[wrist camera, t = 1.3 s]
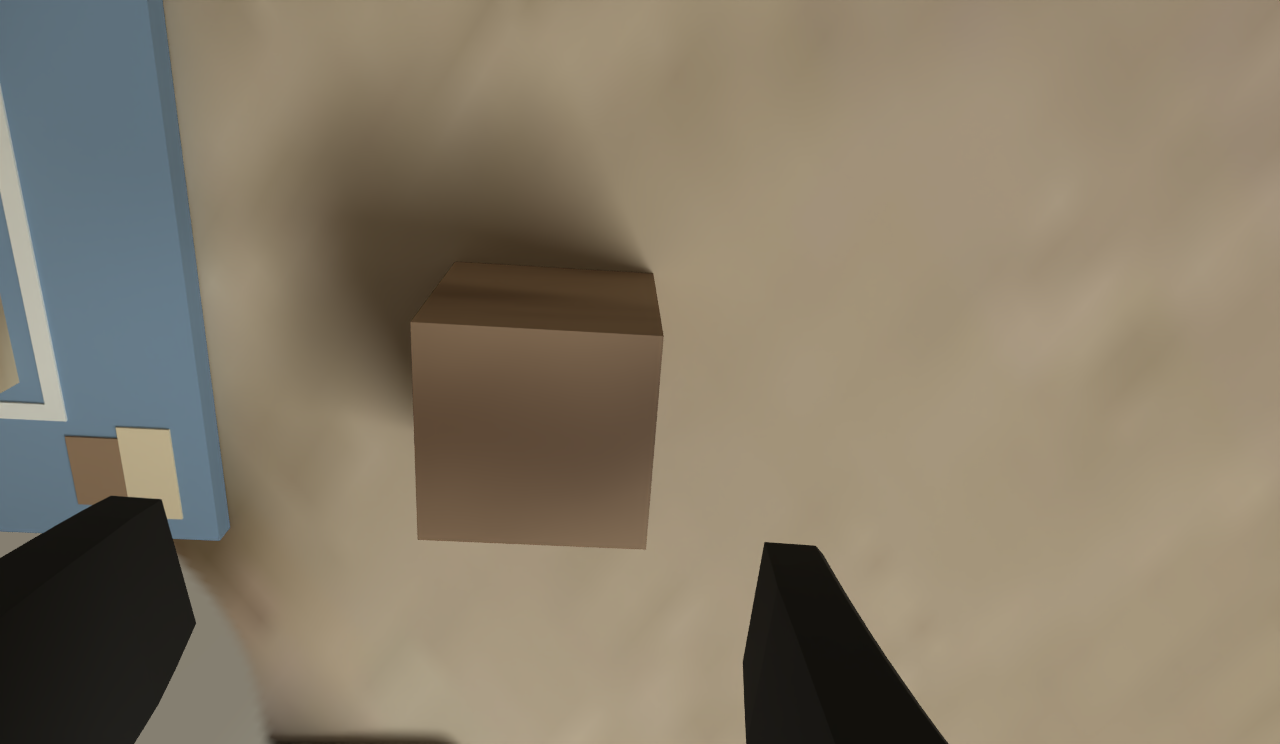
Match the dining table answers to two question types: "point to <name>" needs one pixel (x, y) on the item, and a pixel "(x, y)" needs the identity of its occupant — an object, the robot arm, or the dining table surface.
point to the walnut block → (536, 406)
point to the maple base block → (6, 356)
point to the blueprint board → (99, 274)
